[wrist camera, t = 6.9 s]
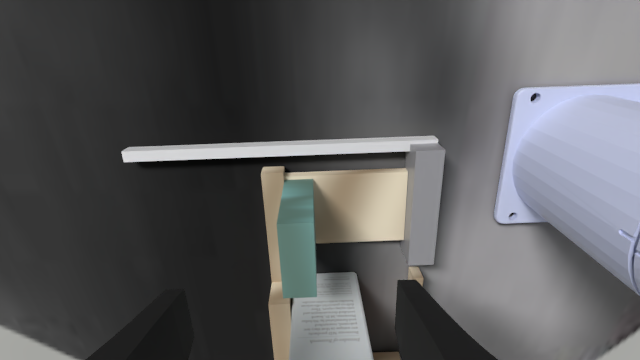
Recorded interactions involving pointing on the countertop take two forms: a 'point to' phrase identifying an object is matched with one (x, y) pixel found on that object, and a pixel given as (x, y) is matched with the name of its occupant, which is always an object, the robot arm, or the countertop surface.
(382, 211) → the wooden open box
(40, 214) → the countertop surface
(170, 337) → the robot arm
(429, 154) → the rail
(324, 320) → the skincare box
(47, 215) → the countertop surface
